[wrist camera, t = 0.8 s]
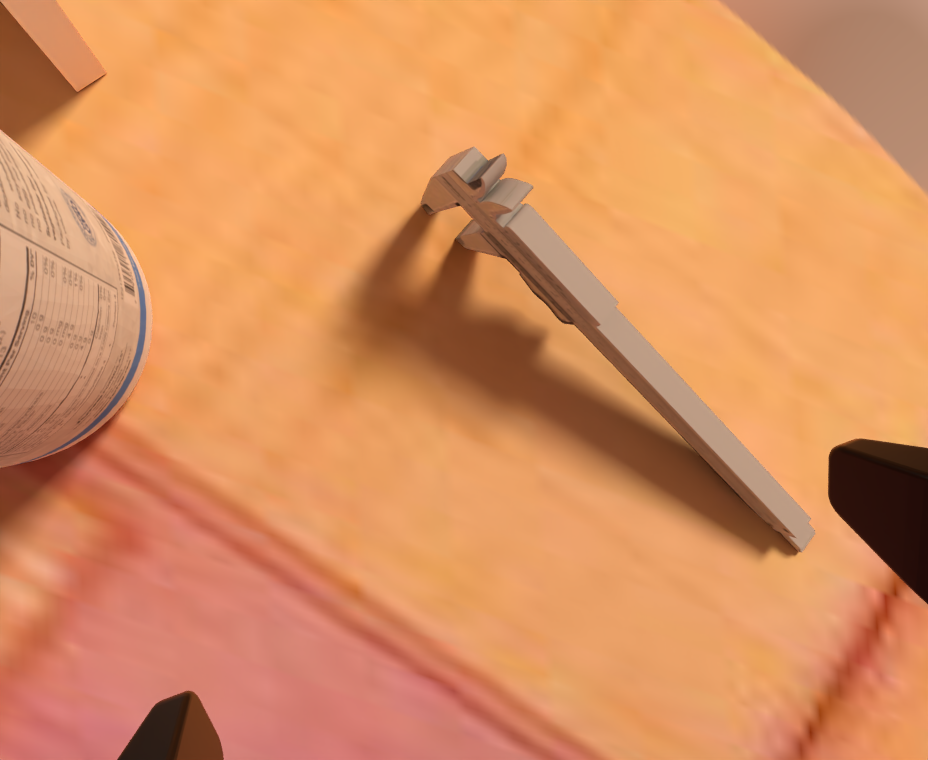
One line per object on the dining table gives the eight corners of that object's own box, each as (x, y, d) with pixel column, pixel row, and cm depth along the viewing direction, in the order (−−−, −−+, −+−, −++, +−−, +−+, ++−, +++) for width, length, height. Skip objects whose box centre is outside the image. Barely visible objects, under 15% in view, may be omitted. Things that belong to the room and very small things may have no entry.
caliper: (416, 209, 25) (441, 144, 19) (435, 188, 25) (466, 117, 19) (794, 550, 27) (928, 594, 21) (809, 529, 28) (947, 567, 21)
